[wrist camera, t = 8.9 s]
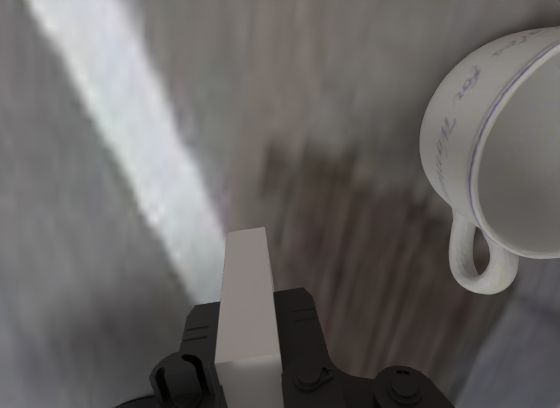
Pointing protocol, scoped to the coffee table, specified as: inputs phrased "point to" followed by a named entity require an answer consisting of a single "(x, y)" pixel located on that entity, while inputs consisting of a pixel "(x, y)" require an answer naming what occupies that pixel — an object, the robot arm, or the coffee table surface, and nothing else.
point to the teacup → (498, 154)
